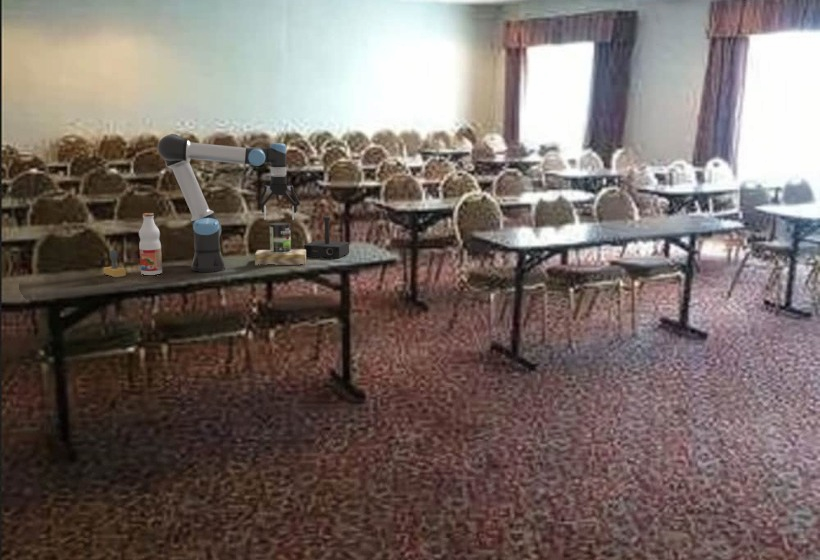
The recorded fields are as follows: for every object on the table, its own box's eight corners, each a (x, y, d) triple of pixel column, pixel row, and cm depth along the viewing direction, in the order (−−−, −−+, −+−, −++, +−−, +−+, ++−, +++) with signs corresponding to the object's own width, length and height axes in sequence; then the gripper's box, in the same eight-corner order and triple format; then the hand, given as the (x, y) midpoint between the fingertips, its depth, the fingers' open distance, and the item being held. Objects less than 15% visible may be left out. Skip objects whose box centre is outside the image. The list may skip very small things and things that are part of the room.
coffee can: (295, 251, 429) (295, 223, 426) (280, 254, 421) (279, 225, 418) (280, 249, 435) (280, 221, 432) (265, 252, 427) (264, 223, 424)
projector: (302, 257, 443) (301, 218, 438) (315, 252, 458) (314, 214, 454) (337, 259, 437) (337, 220, 433) (349, 254, 453) (349, 215, 449)
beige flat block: (255, 265, 421) (254, 255, 420) (257, 259, 435) (257, 250, 434) (305, 264, 423) (304, 254, 422) (306, 259, 437) (305, 249, 436)
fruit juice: (166, 274, 399) (162, 213, 393) (147, 277, 393) (143, 215, 387) (156, 271, 406) (152, 211, 400) (137, 274, 400) (133, 213, 394)
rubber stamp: (126, 276, 395) (124, 250, 392) (114, 278, 391) (112, 252, 388) (115, 273, 402) (113, 247, 399) (103, 275, 398) (101, 249, 395)
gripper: (251, 176, 416) (252, 220, 420) (304, 176, 418) (304, 220, 422) (253, 174, 423) (253, 218, 428) (304, 175, 425) (305, 218, 430)
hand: (279, 219), depth 425 cm, fingers open, 13 cm apart
